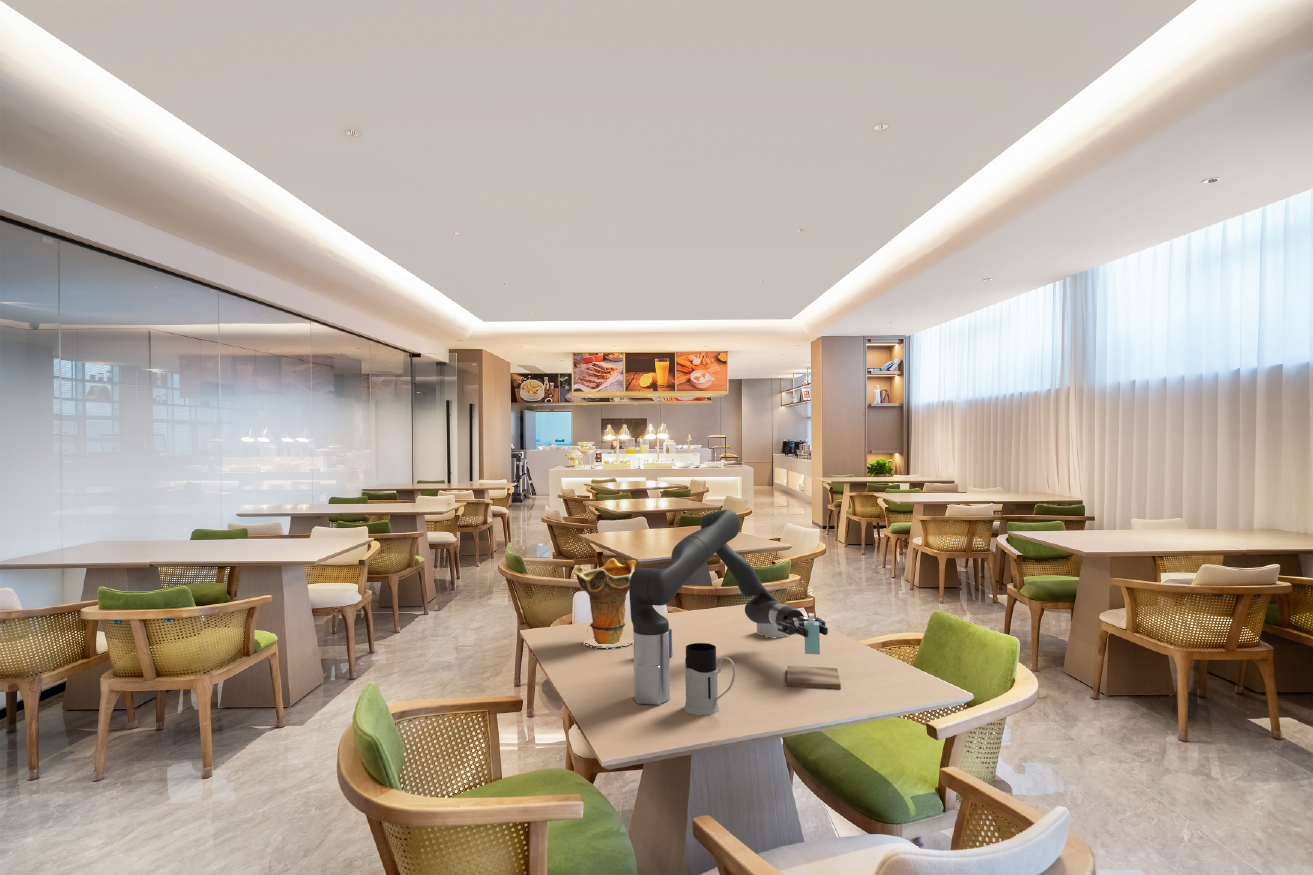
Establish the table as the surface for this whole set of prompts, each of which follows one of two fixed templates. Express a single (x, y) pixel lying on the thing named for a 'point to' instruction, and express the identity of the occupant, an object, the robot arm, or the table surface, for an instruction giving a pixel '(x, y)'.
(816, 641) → the teal bottle
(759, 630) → the lumpy-topped squat cylinder
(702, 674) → the glass holder
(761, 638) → the table surface
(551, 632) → the table surface
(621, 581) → the decorative vase
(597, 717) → the table surface
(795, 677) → the walnut board
